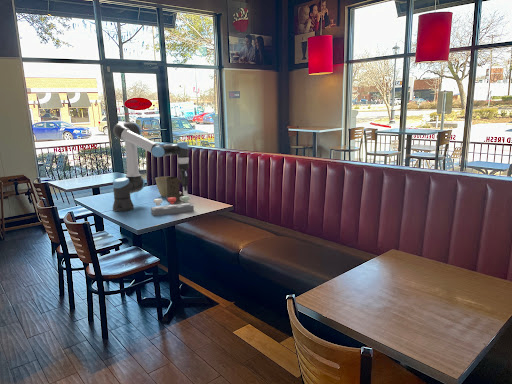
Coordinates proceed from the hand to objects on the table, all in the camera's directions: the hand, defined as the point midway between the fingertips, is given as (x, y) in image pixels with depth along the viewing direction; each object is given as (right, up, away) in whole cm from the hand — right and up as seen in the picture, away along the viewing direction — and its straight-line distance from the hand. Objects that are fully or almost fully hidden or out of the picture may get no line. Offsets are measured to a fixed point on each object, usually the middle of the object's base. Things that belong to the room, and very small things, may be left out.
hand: (185, 194), depth 275 cm
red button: (-9, -6, -3) cm, 12 cm away
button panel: (-9, -12, -2) cm, 16 cm away
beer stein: (-14, -5, +35) cm, 38 cm away
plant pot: (-28, -1, +54) cm, 61 cm away
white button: (-18, -7, -7) cm, 21 cm away
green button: (0, -5, +1) cm, 5 cm away
